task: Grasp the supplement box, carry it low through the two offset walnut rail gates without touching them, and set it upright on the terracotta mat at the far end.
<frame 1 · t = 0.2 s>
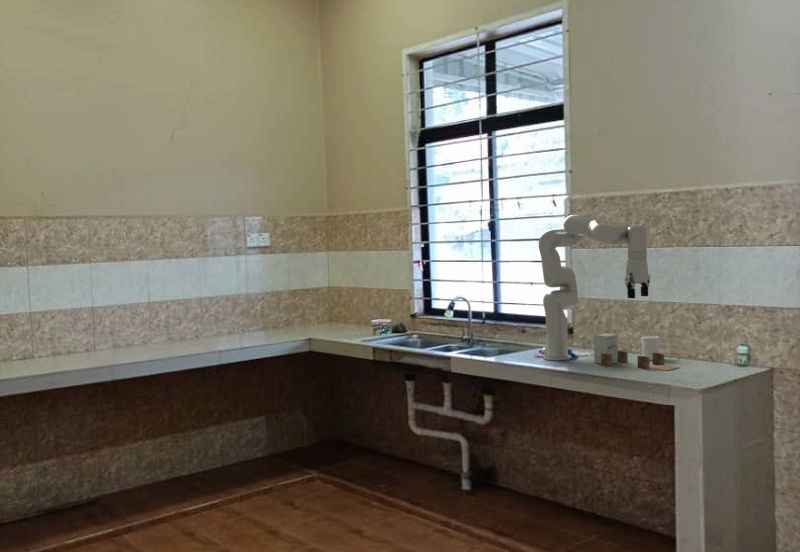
hand: (638, 297, 314), 31 cm above the counter, fingers open, 9 cm apart
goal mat: (663, 368, 319), on the counter
supplement box: (606, 363, 337), on the counter
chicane: (632, 365, 329), on the counter
white cup: (650, 359, 342), on the counter
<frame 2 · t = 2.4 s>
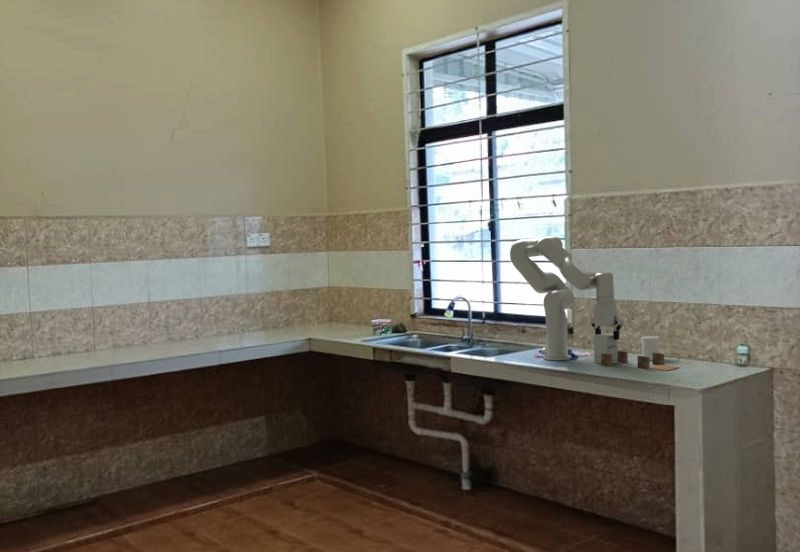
hand: (607, 338, 336), 11 cm above the counter, fingers open, 9 cm apart
supplement box: (606, 363, 337), on the counter, touching gripper
everything else where it was.
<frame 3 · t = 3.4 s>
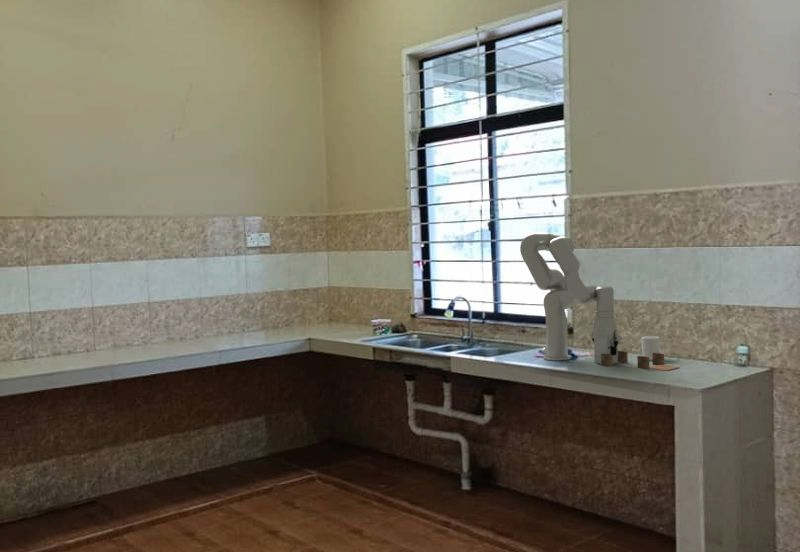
hand: (606, 353, 336), 4 cm above the counter, fingers closed on supplement box, 7 cm apart
supplement box: (606, 363, 337), on the counter, touching gripper
everything else where it was.
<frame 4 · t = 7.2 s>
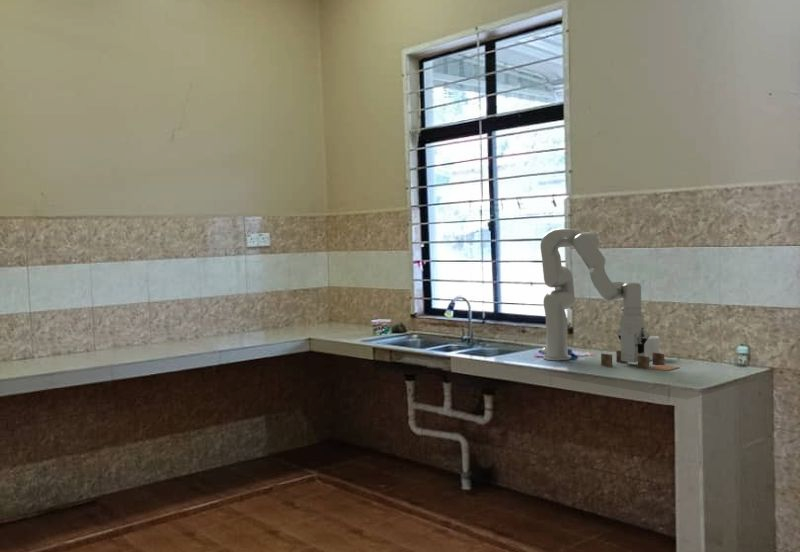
hand: (632, 351, 328), 6 cm above the counter, fingers closed on supplement box, 7 cm apart
supplement box: (633, 361, 329), point 2 cm above the counter, touching gripper
everything else where it was.
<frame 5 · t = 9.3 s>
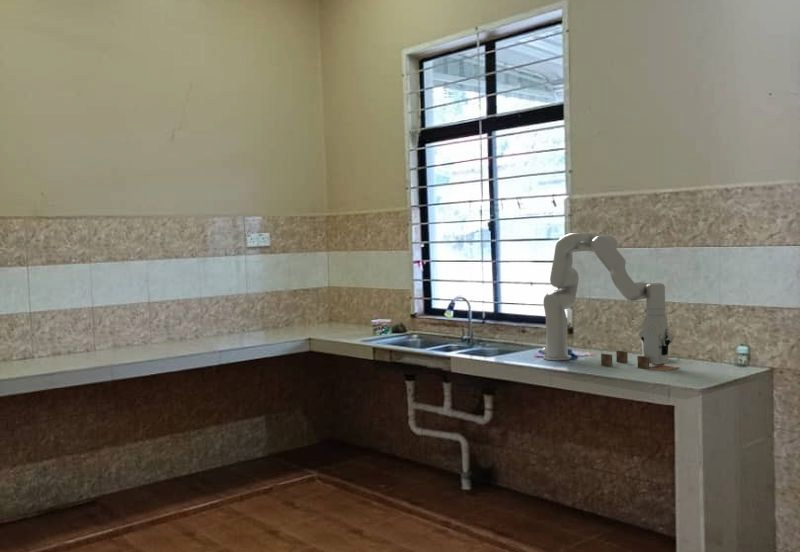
hand: (656, 353, 322), 6 cm above the counter, fingers closed on supplement box, 7 cm apart
supplement box: (656, 363, 322), point 2 cm above the counter, touching gripper
everything else where it was.
when the fingers open (5 cm above the counter, at t = 10.9 s): supplement box stays where it is, resting on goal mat.
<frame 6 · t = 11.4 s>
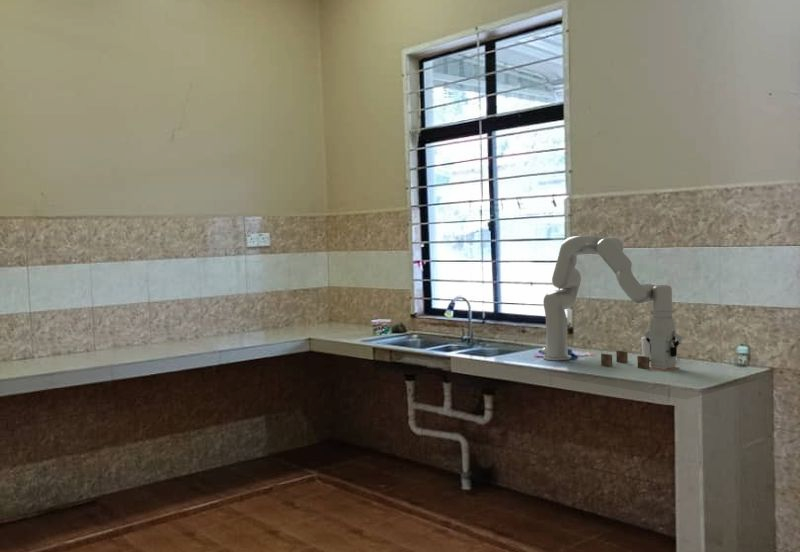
hand: (663, 355, 319), 6 cm above the counter, fingers open, 9 cm apart
supplement box: (663, 367, 319), resting on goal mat
everything else where it was.
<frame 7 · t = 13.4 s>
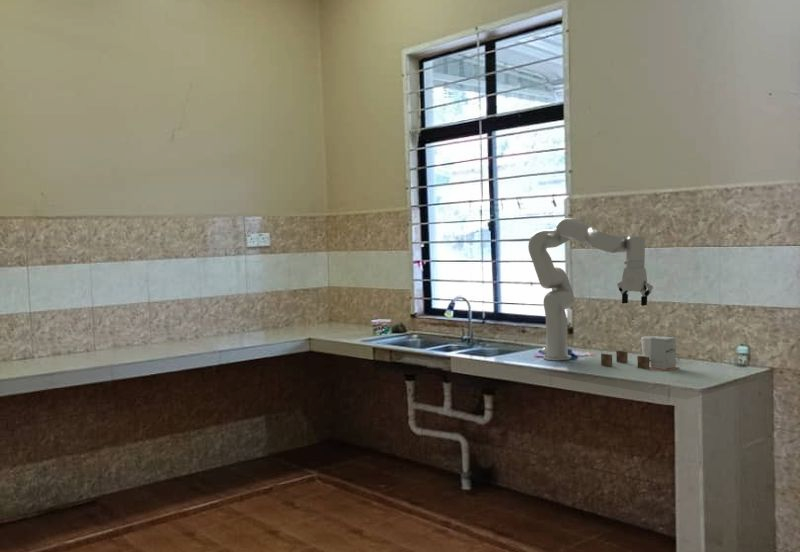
hand: (634, 304, 327), 26 cm above the counter, fingers open, 9 cm apart
nothing on the counter moved.
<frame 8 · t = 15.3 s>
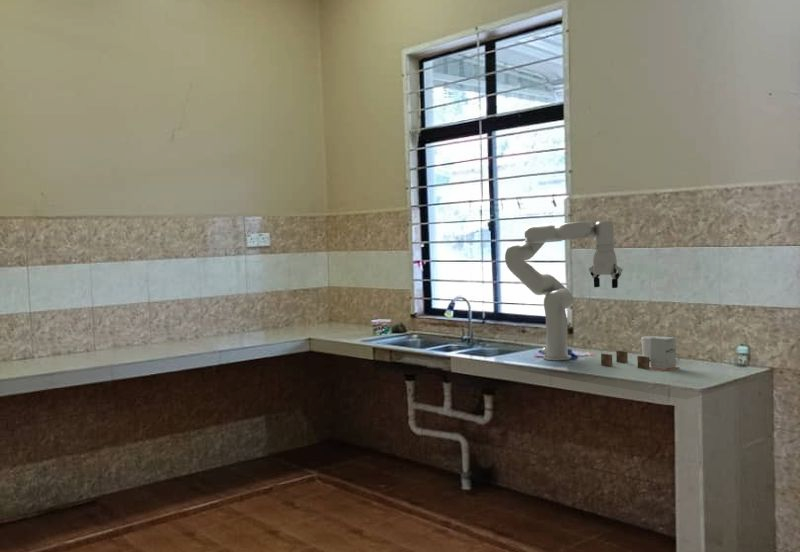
hand: (605, 287, 337), 33 cm above the counter, fingers open, 9 cm apart
nothing on the counter moved.
at the end: supplement box 0.1 cm from the target spot, resting on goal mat; supplement box tilted 0°; supplement box touching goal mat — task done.
